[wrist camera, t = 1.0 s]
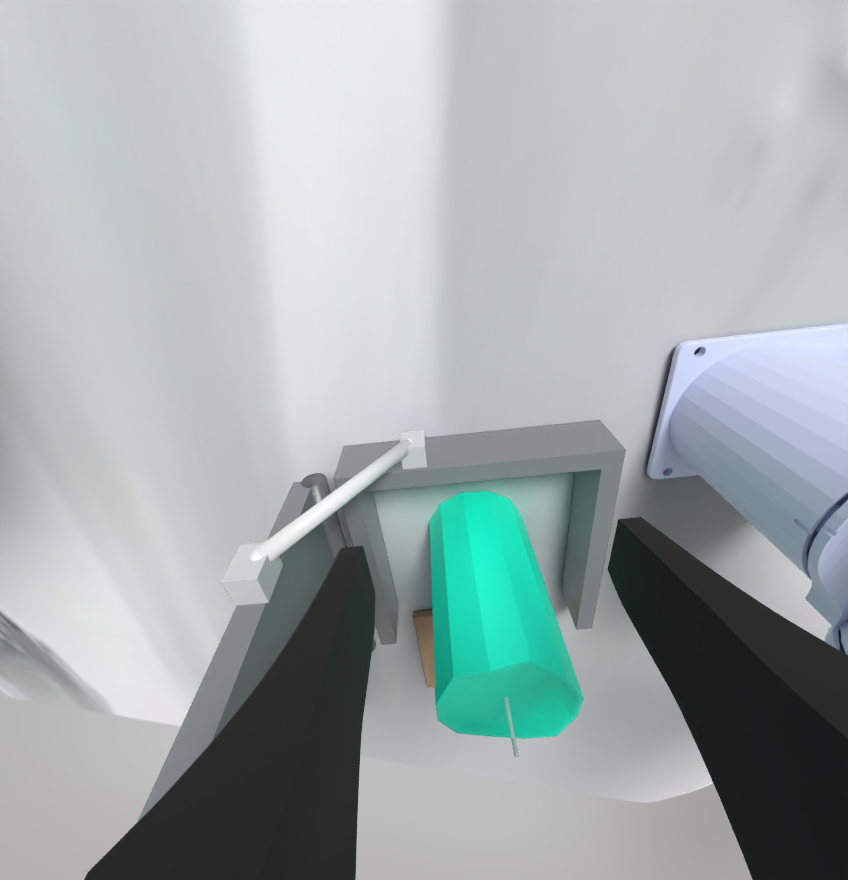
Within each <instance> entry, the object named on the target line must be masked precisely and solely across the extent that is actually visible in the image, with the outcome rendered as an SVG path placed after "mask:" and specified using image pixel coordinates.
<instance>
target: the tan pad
mask: <svg viewBox="0 0 848 880" xmlns="http://www.w3.org/2000/svg"><path fill="white" fill-rule="evenodd" d="M413 619H414V623H415V628H416V633H417V638H418V643H419V648H420V653H421V658H422V663H423V668H424V673H425V678H426V683H427V687H428V688H429V687H435V667H434V639H433V611H432V610H425V611H413Z"/></svg>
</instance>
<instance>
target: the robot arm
mask: <svg viewBox="0 0 848 880" xmlns="http://www.w3.org/2000/svg"><path fill="white" fill-rule="evenodd" d="M699 347H700V351H699V352H698V353H697V354H695V355H694V352H695V350H696V349H697V348H699ZM665 469H668V470H666V471H664V470H665ZM647 474H648V475H649V476H650V477H651V478H652V479H665V478H676V477H687V476H697V475H700V476H701V477H702V478H703V479H704V480H705V481H706V482H707V483H708V484H709V485H710V486H711V487H712V488H713V489H715V490H716V491H717V492H718V493H719V494H720V495H721V496H722V497H723V498H724V499H725V500H726V501H727V502H728V503H729V504H731V505H732V506H733V507H734V508H735V509H736V510H737V511H738V512H739V513H740V514H741V515H742V516H743V517H744V518H745V519H747V520H748V521H749V522H750V523H751V524H752V525H753V526H754V527H755V528H756V529H757V530H758V531H759V532H760V533H762V534H763V535H764V536H765V537H766V538H767V539H768V540H769V541H770V542H771V543H772V544H773V545H774V546H775V547H776V548H778V549H779V550H780V551H781V552H782V553H783V554H784V555H785V556H786V557H787V558H788V559H789V560H790V561H791V562H792V563H794V564H795V565H796V566H797V567H798V568H799V569H800V570H801V571H802V572H803V573H804V574H805V575H806V576H807V577H809V578H810V579H811V580H812V587H811V589H810V591H809V593H808V594H807V596H806V600H807V601H808V602H809V603H810V604H811V605H812V606H813V607H814V608H815V609H816V610H817V611H818V612H819V613H820V614H821V615H822V616H823V617H824V618H825V619H826V620H827V621H828V622H829V623H830V624H831V625H832V626H831V627H830V628H829V630H828V632H827V634H826V637H825V642H824V641H822V640H821V639H819V638H817V637H815V636H814V635H812V634H810V633H809V632H807V631H805V630H804V629H802V628H800V627H798V626H797V625H795V624H793V623H792V622H790V621H788V620H787V619H785V618H784V617H782V616H780V615H779V614H777V613H776V612H774V611H772V610H771V609H769V608H768V607H766V606H765V605H763V604H762V603H760V602H759V601H757V600H756V599H754V598H753V597H751V596H749V595H748V594H746V593H745V592H743V591H742V590H740V589H739V588H737V587H736V586H735V585H733V584H732V583H730V582H729V581H727V580H726V579H724V578H723V577H722V576H720V575H719V574H717V573H716V572H714V571H713V570H712V569H710V568H709V567H707V566H706V565H705V564H703V563H702V562H700V561H699V560H698V559H696V558H695V557H694V556H692V555H691V554H690V553H688V552H687V551H685V550H684V549H683V548H681V547H680V546H679V545H677V544H676V543H675V542H673V541H672V540H671V539H669V538H668V537H667V536H665V535H664V534H663V533H661V532H660V531H659V530H657V529H656V528H655V527H653V526H652V525H651V524H649V523H648V522H646V521H645V520H644V519H642V518H641V517H638V518H628V519H618V524H617V528H616V533H615V538H614V542H613V547H612V552H611V557H610V561H609V566H608V571H609V574H610V576H611V579H612V581H613V584H614V586H615V589H616V591H617V593H618V596H619V598H620V600H621V602H622V605H623V607H624V608H625V610H626V612H627V614H628V616H629V618H630V619H631V621H632V623H633V625H634V626H635V628H636V630H637V632H638V634H639V635H640V637H641V639H642V641H643V642H644V644H645V646H646V648H647V649H648V651H649V653H650V655H651V656H652V658H653V660H654V662H655V664H656V665H657V667H658V669H659V671H660V672H661V674H662V676H663V678H664V679H665V681H666V683H667V685H668V686H669V688H670V690H671V692H672V694H673V696H674V698H675V700H676V702H677V704H678V705H679V707H680V710H681V712H682V714H683V716H684V718H685V720H686V723H687V725H688V727H689V729H690V731H691V733H692V736H693V738H694V740H695V742H696V744H697V746H698V749H699V751H700V753H701V755H702V758H703V760H704V762H705V765H706V767H707V769H708V772H709V774H710V776H711V778H712V781H713V783H714V785H715V788H716V790H717V792H718V794H719V797H720V799H721V802H722V804H723V806H724V809H725V811H726V814H727V816H728V819H729V821H730V823H731V826H732V829H733V831H734V833H735V836H736V838H737V841H738V843H739V846H740V848H741V851H742V853H743V855H744V858H745V861H746V863H747V866H748V868H749V871H750V874H751V876H752V879H753V880H848V323H845V324H836V325H827V326H818V327H809V328H800V329H791V330H782V331H773V332H763V333H754V334H745V335H736V336H727V337H718V338H709V339H700V340H691V341H685V342H682V343H681V344H679V345H678V346H677V348H676V349H675V351H674V355H673V359H672V363H671V368H670V372H669V376H668V381H667V385H666V389H665V394H664V398H663V402H662V407H661V411H660V415H659V419H658V424H657V428H656V432H655V437H654V441H653V445H652V450H651V454H650V458H649V463H648V467H647ZM374 628H375V589H374V585H373V581H372V578H371V574H370V570H369V566H368V562H367V558H366V555H365V551H364V547H363V546H355V547H345V548H341V549H340V551H339V552H338V554H337V556H336V558H335V560H334V562H333V564H332V566H331V568H330V570H329V572H328V574H327V576H326V578H325V580H324V581H323V583H322V585H321V587H320V589H319V591H318V592H317V594H316V596H315V598H314V599H313V601H312V603H311V604H310V606H309V608H308V610H307V611H306V613H305V615H304V616H303V618H302V620H301V621H300V623H299V625H298V626H297V628H296V629H295V631H294V632H293V634H292V635H291V637H290V638H289V640H288V642H287V643H286V645H285V646H284V648H283V649H282V651H281V652H280V654H279V655H278V657H277V658H276V660H275V661H274V663H273V664H272V665H271V667H270V668H269V670H268V671H267V672H266V674H265V675H264V677H263V678H262V679H261V681H260V682H259V683H258V685H257V686H256V687H255V689H254V690H253V691H252V693H251V694H250V695H249V697H248V698H247V699H246V700H245V702H244V703H243V704H242V705H241V707H240V708H239V709H238V710H237V712H236V713H235V714H234V715H233V717H232V718H231V719H230V720H229V722H228V723H227V724H226V725H225V727H224V728H223V729H222V730H221V731H220V733H219V734H218V735H217V736H216V737H215V739H214V740H213V741H212V742H211V743H210V744H209V746H208V747H207V748H206V749H205V750H204V751H203V752H202V753H201V755H200V756H199V757H198V758H197V759H196V760H195V761H194V762H193V763H192V765H191V766H190V767H189V768H188V769H187V770H186V771H185V772H184V773H183V775H182V776H181V777H180V778H179V779H178V780H177V781H176V782H175V783H174V785H173V786H172V787H171V788H170V789H169V790H168V791H167V792H166V793H165V794H164V796H163V797H162V798H161V799H160V800H159V801H158V802H157V803H156V804H155V805H154V806H153V807H152V808H151V809H150V810H149V811H148V812H147V813H146V814H145V815H144V816H143V817H142V818H141V819H140V820H139V821H138V822H137V823H136V824H135V825H134V826H133V827H132V828H131V829H130V830H129V831H128V833H126V834H125V836H124V837H123V838H122V839H121V840H120V841H119V842H118V843H117V844H116V845H115V846H114V847H113V848H112V849H111V850H110V851H109V852H108V853H107V854H106V855H105V856H104V857H103V858H102V859H101V860H100V861H99V862H98V863H97V864H96V865H95V866H94V867H93V868H92V869H91V870H90V871H89V872H88V874H87V875H86V877H85V879H84V880H355V874H356V838H357V812H358V811H357V810H358V787H359V764H360V747H361V732H362V721H363V712H364V705H365V697H366V690H367V683H368V675H369V668H370V660H371V652H372V645H373V637H374Z"/></svg>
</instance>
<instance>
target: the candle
mask: <svg viewBox="0 0 848 880" xmlns="http://www.w3.org/2000/svg"><path fill="white" fill-rule="evenodd" d="M429 526H430V554H431V583H432V611H433V639H434V667H435V696H436V710H437V718H438V721H440V722H441V723H443V724H444V725H446V726H447V727H449V728H450V729H452V730H453V731H455V732H456V733H461V734H471V735H481V736H493V737H507V738H511V739H512V745H513V751H514V756H515V757H518V751H517V746H516V740H515V738H521V739H524V738H537V737H551V736H557V735H558V734H559V733H560V732H561V731H562V730H563V729H564V728H565V727H566V726H567V725H568V724H569V723H570V722H572V721H573V720H574V719H575V718H576V717H577V716H578V713H579V710H580V707H581V704H582V701H583V696H582V693H581V690H580V687H579V684H578V681H577V678H576V675H575V672H574V669H573V666H572V663H571V660H570V657H569V654H568V652H567V649H566V646H565V643H564V640H563V637H562V634H561V631H560V628H559V625H558V622H557V619H556V616H555V613H554V610H553V607H552V604H551V601H550V598H549V595H548V593H547V590H546V587H545V584H544V581H543V578H542V575H541V572H540V569H539V566H538V563H537V560H536V557H535V554H534V551H533V548H532V545H531V542H530V539H529V537H528V534H527V531H526V528H525V525H524V522H523V519H522V516H521V514H520V513H519V511H518V510H517V509H516V507H515V506H514V504H513V503H512V502H511V500H510V499H508V498H505V497H502V496H500V495H497V494H495V493H492V492H490V491H477V492H462V493H460V494H458V495H456V496H454V497H453V498H451V499H449V500H447V501H445V502H443V503H441V504H440V505H439V507H438V508H437V510H436V511H435V513H434V515H433V516H432V518H431V519H430V521H429Z"/></svg>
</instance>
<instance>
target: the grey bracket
mask: <svg viewBox="0 0 848 880" xmlns="http://www.w3.org/2000/svg"><path fill="white" fill-rule="evenodd" d="M625 451H626V450H625V448H624V447H623V446H622V445H621V444H620V443H619V442H618V440H617V439H616V438H615V437H614V436H613V435H612V434H611V432H610V431H609V430H608V429H607V428H606V427H605V426H604V424H603V423H602V422H601V421H600V420H596V421H586V422H576V423H566V424H557V425H547V426H537V427H527V428H518V429H508V430H498V431H488V432H478V433H469V434H459V435H449V436H439V437H430V438H425V432H424V430H416V431H406V432H401V435H400V441H390V442H381V443H371V444H361V445H351V446H344V448H343V451H342V454H341V457H340V460H339V463H338V467H337V470H336V473H335V476H334V482H335V485H336V488H337V489H336V490H335V491H333V492H332V493H330V489H329V486H328V483H327V479H326V476H325V475H324V474H320V473H316V474H311V475H309V476H307V477H305V478H304V479H303V480H302V482H295V483H293V485H292V487H291V489H290V491H289V494H288V496H287V498H286V500H285V502H284V504H283V507H282V509H281V511H280V513H279V515H278V518H277V520H276V522H275V524H274V526H273V528H272V531H271V533H270V535H269V537H268V539H267V541H265V542H264V543H255V544H244V545H240V547H239V548H238V550H237V552H236V554H235V556H234V558H233V560H232V562H231V563H230V565H229V567H228V569H227V571H226V573H225V575H224V577H223V578H222V580H221V584H222V586H223V587H224V589H225V591H226V593H227V594H228V596H229V598H230V599H231V601H232V603H233V605H234V606H237V607H236V609H235V611H234V613H233V615H232V617H231V620H230V622H229V624H228V626H227V628H226V630H225V633H224V635H223V637H222V639H221V641H220V643H219V646H218V648H217V650H216V652H215V654H214V656H213V659H212V661H211V663H210V665H209V667H208V670H207V672H206V674H205V676H204V678H203V680H202V683H201V685H200V687H199V689H198V691H197V693H196V696H195V698H194V700H193V702H192V704H191V706H190V709H189V711H188V713H187V715H186V717H185V719H184V722H183V724H182V726H181V728H180V730H179V732H178V735H177V737H176V739H175V741H174V743H173V746H172V748H171V750H170V752H169V754H168V756H167V759H166V761H165V763H164V765H163V767H162V769H161V772H160V774H159V776H158V778H157V780H156V783H155V785H154V787H153V789H152V791H151V793H150V796H149V798H148V800H147V802H146V804H145V806H144V808H143V811H142V813H141V815H140V817H139V819H138V821H139V820H140V819H141V818H142V817H143V816H144V815H145V814H146V813H147V812H148V811H149V810H150V809H151V808H152V807H153V806H154V805H155V804H156V803H157V802H158V801H159V800H160V799H161V798H162V797H163V796H164V794H165V793H166V792H167V791H168V790H169V789H170V788H171V787H172V786H173V785H174V783H175V782H176V781H177V780H178V779H179V778H180V777H181V776H182V775H183V773H184V772H185V771H186V770H187V769H188V768H189V767H190V766H191V765H192V763H193V762H194V761H195V760H196V759H197V758H198V757H199V756H200V755H201V753H202V752H203V751H204V750H205V749H206V748H207V747H208V746H209V744H210V743H211V742H212V741H213V740H214V739H215V737H216V736H217V735H218V734H219V733H220V731H221V730H222V729H223V728H224V727H225V725H226V724H227V723H228V722H229V720H230V719H231V718H232V717H233V715H234V714H235V713H236V712H237V710H238V709H239V708H240V707H241V705H242V704H243V703H244V702H245V700H246V699H247V698H248V697H249V695H250V694H251V693H252V691H253V690H254V689H255V687H256V686H257V685H258V683H259V682H260V681H261V679H262V678H263V677H264V675H265V674H266V672H267V671H268V670H269V668H270V667H271V665H272V664H273V663H274V661H275V660H276V658H277V657H278V655H279V654H280V652H281V651H282V649H283V648H284V646H285V645H286V643H287V642H288V640H289V638H290V637H291V635H292V634H293V632H294V631H295V629H296V628H297V626H298V625H299V623H300V621H301V620H302V618H303V616H304V615H305V613H306V611H307V610H308V608H309V606H310V604H311V603H312V601H313V599H314V598H315V596H316V594H317V592H318V591H319V589H320V587H321V585H322V583H323V581H324V580H325V578H326V576H327V574H328V572H329V570H330V568H331V566H332V564H333V562H334V560H335V558H336V556H337V554H338V552H339V551H340V549H341V548H345V547H347V546H346V542H345V539H344V536H343V533H342V529H341V526H340V523H339V519H338V516H337V513H336V511H337V510H338V509H339V508H341V507H342V509H343V513H344V516H345V520H346V523H347V526H348V530H349V533H350V537H351V540H352V544H353V547H355V546H363V547H364V551H365V555H366V558H367V562H368V566H369V570H370V574H371V578H372V581H373V585H374V589H375V623H376V627H377V630H378V634H379V637H380V641H381V644H382V645H383V644H395V643H396V640H397V620H398V601H397V596H396V592H395V588H394V583H393V579H392V574H391V570H390V566H389V561H388V557H387V553H386V548H385V544H384V540H383V535H382V531H381V526H380V522H379V518H378V513H377V509H376V505H375V500H374V496H373V492H372V491H381V490H392V489H402V488H412V487H423V486H433V485H443V484H454V483H464V482H475V481H485V480H495V479H506V478H516V477H526V476H537V475H547V474H557V473H568V472H575V479H574V487H573V496H572V505H571V514H570V522H569V531H568V540H567V549H566V558H565V566H564V575H563V584H562V593H563V595H564V598H565V601H566V603H567V606H568V609H569V611H570V614H571V616H572V619H573V622H574V624H575V627H576V629H588V628H592V624H593V619H594V614H595V609H596V603H597V598H598V593H599V588H600V582H601V577H602V572H603V567H604V561H605V556H606V551H607V546H608V541H609V535H610V530H611V525H612V520H613V514H614V509H615V504H616V499H617V493H618V488H619V483H620V478H621V472H622V467H623V462H624V457H625ZM375 647H376V642H375V639H374V637H373V645H372V652H373V650H374V649H375Z"/></svg>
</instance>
